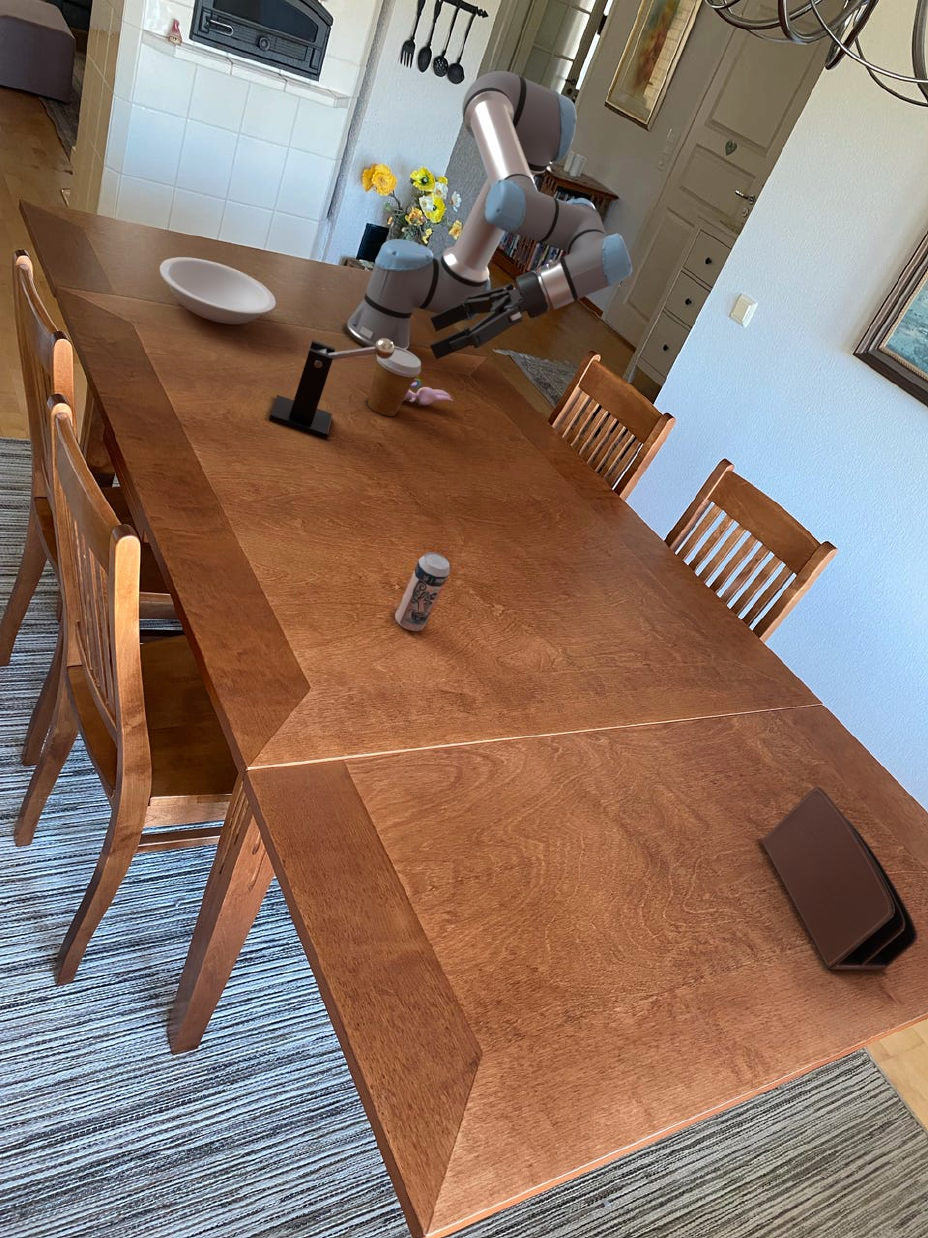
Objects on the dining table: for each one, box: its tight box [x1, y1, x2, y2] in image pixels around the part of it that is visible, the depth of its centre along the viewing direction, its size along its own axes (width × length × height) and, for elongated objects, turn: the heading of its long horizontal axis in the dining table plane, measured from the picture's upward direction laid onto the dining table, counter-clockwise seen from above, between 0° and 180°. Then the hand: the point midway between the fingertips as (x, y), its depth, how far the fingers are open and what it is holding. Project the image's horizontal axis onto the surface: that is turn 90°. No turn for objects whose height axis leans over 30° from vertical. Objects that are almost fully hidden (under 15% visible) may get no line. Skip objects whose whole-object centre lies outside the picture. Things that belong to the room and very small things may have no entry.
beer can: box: [394, 552, 451, 632], centre depth 137 cm, size 5×5×12 cm
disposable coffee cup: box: [367, 346, 422, 417], centre depth 190 cm, size 10×10×12 cm
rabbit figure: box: [403, 378, 454, 406], centre depth 200 cm, size 6×6×15 cm
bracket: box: [268, 339, 336, 440], centre depth 172 cm, size 11×9×15 cm
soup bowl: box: [159, 256, 277, 325], centre depth 195 cm, size 24×24×7 cm
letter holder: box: [761, 786, 918, 971], centre depth 123 cm, size 10×20×14 cm, turn 13°
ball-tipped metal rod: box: [316, 338, 394, 361], centre depth 168 cm, size 15×4×4 cm, turn 91°
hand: (432, 337), depth 167 cm, fingers open, 13 cm apart
